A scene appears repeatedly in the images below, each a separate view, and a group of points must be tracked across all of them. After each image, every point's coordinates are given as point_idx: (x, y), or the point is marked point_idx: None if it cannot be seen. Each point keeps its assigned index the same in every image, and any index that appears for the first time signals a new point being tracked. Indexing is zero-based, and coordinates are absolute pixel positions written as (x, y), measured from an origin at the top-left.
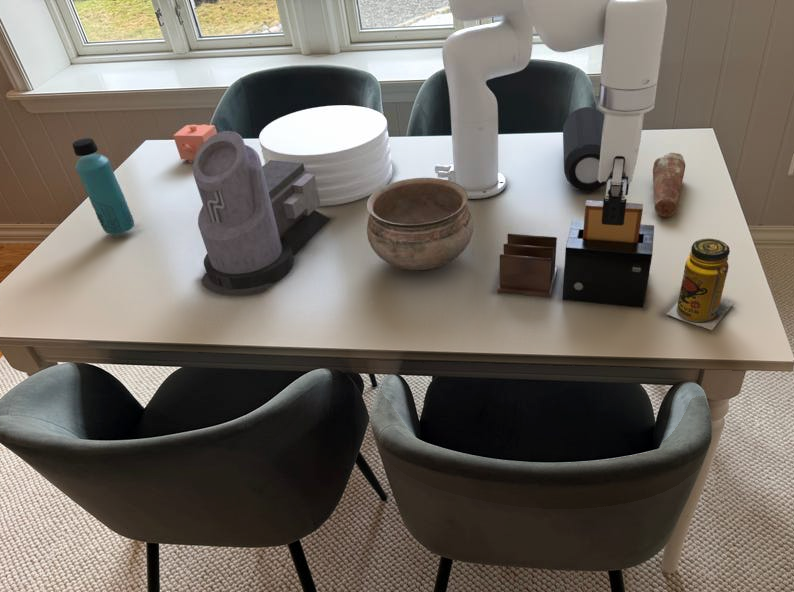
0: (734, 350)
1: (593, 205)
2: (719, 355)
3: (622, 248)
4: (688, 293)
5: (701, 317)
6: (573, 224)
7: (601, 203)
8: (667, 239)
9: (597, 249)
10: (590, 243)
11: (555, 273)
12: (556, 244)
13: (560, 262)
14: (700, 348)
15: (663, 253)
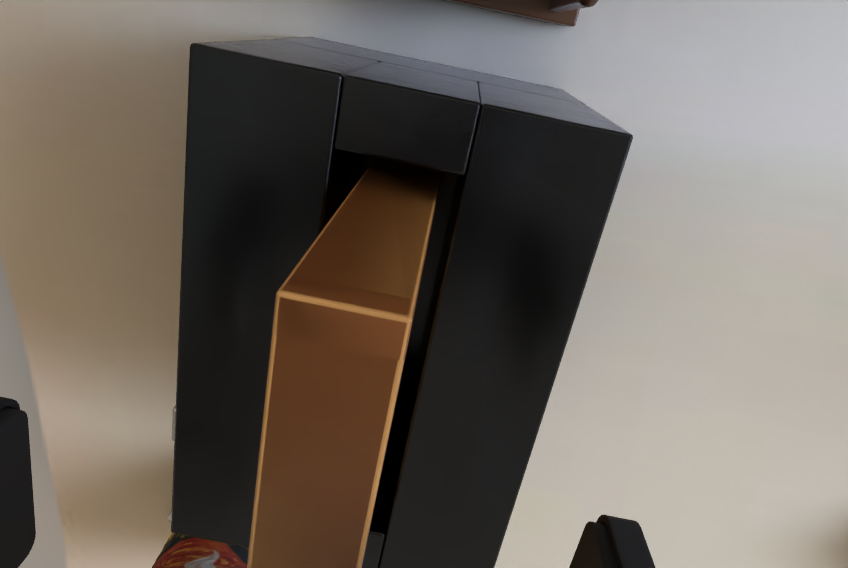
0: (91, 545)
1: (278, 372)
2: (59, 507)
3: (215, 409)
4: (175, 539)
5: None
6: (548, 135)
7: (326, 450)
8: (752, 517)
9: (186, 268)
10: (262, 232)
11: (510, 12)
12: (582, 7)
13: (649, 50)
14: (80, 471)
15: (648, 485)
